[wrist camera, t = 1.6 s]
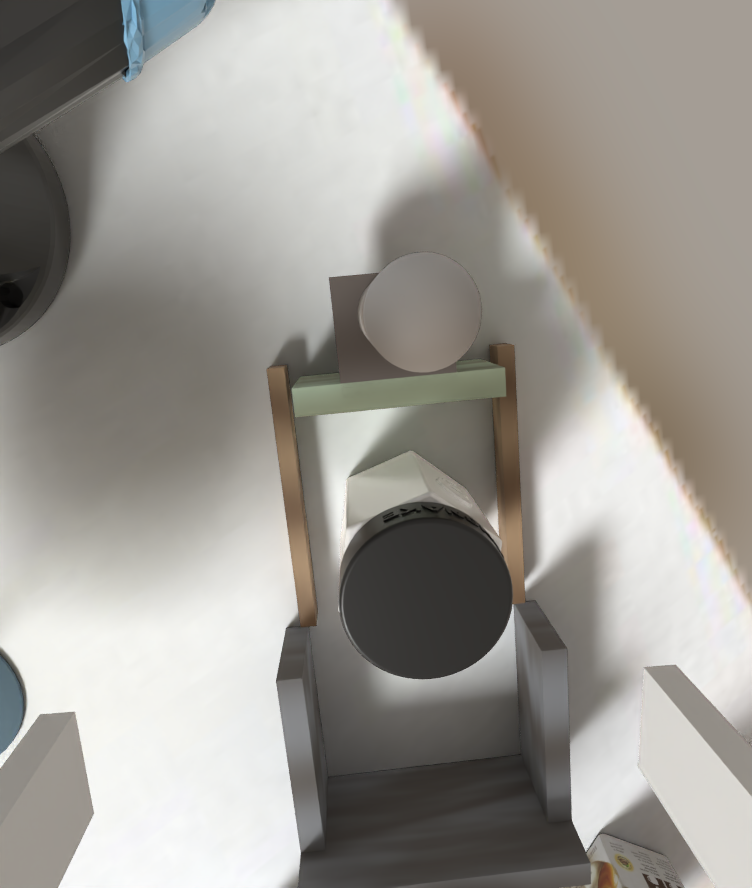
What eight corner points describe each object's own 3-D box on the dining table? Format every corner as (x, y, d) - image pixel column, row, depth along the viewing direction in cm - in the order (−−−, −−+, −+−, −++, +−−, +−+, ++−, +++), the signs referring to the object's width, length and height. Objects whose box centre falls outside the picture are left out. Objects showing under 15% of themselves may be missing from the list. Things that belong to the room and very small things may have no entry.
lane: (250, 368, 37) (220, 385, 28) (525, 341, 37) (580, 349, 28) (309, 797, 43) (300, 919, 35) (542, 769, 44) (591, 884, 35)
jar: (494, 504, 39) (557, 585, 28) (420, 599, 41) (450, 715, 29) (384, 426, 38) (401, 477, 26) (310, 526, 39) (295, 618, 27)
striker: (289, 287, 35) (233, 262, 18) (474, 270, 36) (599, 228, 18) (303, 400, 37) (264, 481, 19) (481, 383, 37) (602, 446, 20)
